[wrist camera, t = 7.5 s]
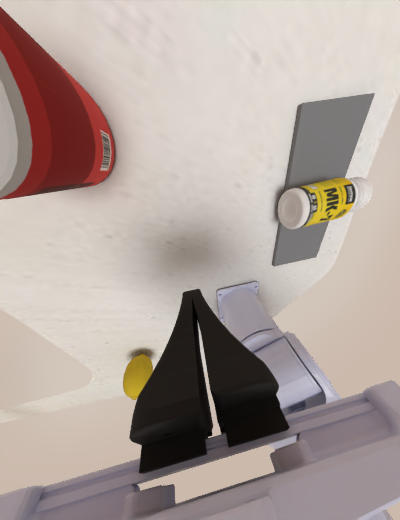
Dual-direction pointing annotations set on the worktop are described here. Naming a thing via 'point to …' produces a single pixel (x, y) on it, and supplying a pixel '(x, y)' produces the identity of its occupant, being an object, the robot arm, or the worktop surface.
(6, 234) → the worktop surface
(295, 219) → the supplement bottle
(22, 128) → the canned food
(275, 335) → the robot arm
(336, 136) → the mat
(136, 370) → the lemon
